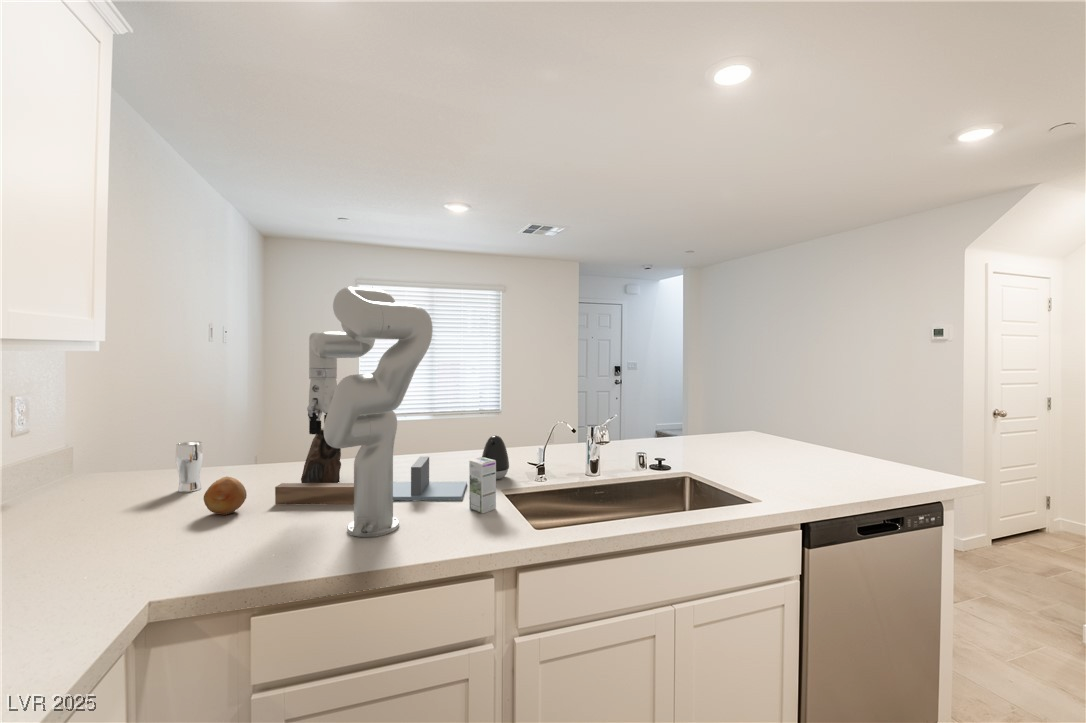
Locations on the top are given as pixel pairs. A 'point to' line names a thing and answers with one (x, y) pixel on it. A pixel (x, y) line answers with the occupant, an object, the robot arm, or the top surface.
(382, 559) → the top surface
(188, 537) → the top surface
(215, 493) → the onion
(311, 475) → the owl
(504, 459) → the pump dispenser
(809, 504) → the top surface
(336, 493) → the walnut bar
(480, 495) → the syrup box
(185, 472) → the beer glass
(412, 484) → the balance stand
